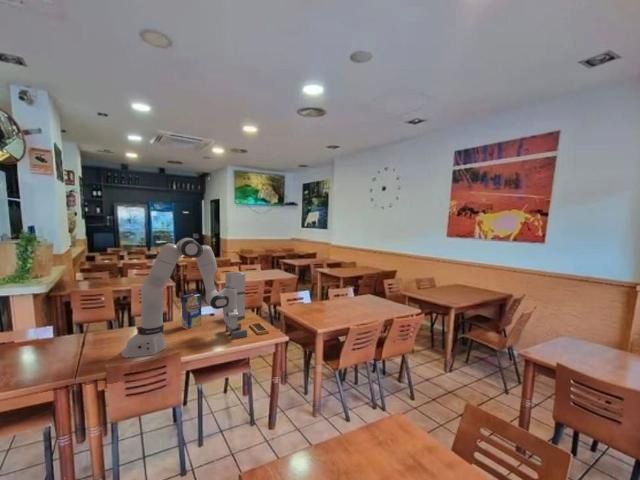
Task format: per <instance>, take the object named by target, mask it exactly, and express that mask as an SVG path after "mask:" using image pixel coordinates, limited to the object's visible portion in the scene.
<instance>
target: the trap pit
mask: <svg viewBox="0 0 640 480" xmlns="http://www.w3.org/2000/svg"><path fill="white" fill-rule="evenodd" d="M248 326H249V328H250V329H251V330H252V331H253V333H255V334H256V335H257V336H261V335H267V334H269V333H270V329H268V328H267V327H266V326H265V325H264V324H263V323H262V322H260V321H258V322H252V323H249V325H248Z"/></svg>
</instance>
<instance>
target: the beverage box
mask: <svg viewBox="0 0 640 480" xmlns="http://www.w3.org/2000/svg"><path fill="white" fill-rule="evenodd" d="M198 326H202V294H199V293H191V294H186V295H183V296H181V328H184V329H187V330H190V329H192V328H196V327H198Z"/></svg>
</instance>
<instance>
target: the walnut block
mask: <svg viewBox="0 0 640 480" xmlns="http://www.w3.org/2000/svg"><path fill="white" fill-rule="evenodd" d="M240 330H241V329H240V327H239V326H238V325H237V328H236V329H232V332H234V331H240ZM229 333H230V334H231V332H229Z"/></svg>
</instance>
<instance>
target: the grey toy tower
mask: <svg viewBox="0 0 640 480" xmlns="http://www.w3.org/2000/svg"><path fill="white" fill-rule="evenodd" d="M224 279H225V281H224V282H225V284H224V285H225V286H224V288H225V287H233V288H235V289H236V292H237V302H236V304H237V312H238V316H237V321H238V320H245V317H246V273H244V272H241V271H233V272H225V278H224Z"/></svg>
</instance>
